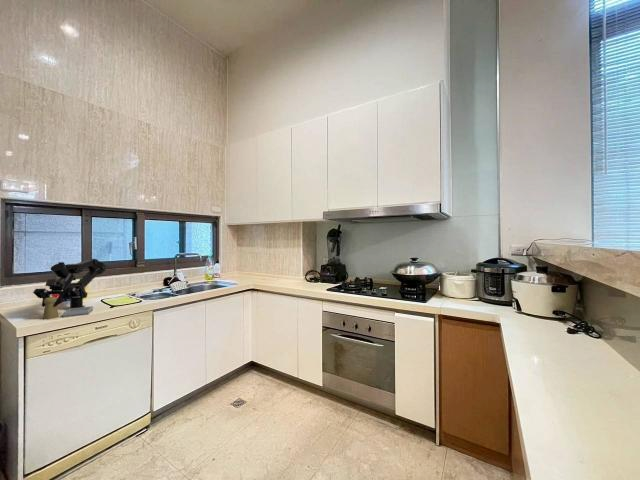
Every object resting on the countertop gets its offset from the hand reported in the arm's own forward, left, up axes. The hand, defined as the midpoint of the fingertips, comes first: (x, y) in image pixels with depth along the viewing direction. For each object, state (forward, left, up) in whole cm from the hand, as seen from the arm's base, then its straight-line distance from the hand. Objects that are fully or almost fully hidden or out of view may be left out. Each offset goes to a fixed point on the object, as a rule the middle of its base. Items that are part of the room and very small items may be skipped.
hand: (48, 306), depth 138 cm
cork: (-1, 0, -7) cm, 7 cm away
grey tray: (-4, +11, -7) cm, 13 cm away
